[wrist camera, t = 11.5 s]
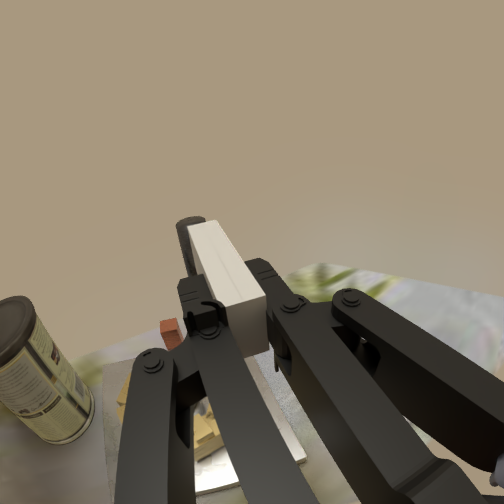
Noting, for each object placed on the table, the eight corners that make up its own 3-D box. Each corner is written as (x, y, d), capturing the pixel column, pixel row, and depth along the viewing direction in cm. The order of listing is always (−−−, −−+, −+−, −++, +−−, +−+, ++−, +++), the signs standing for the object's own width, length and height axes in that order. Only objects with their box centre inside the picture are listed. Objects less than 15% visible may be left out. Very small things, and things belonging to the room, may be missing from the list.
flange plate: (119, 506, 16) (88, 491, 13) (108, 361, 33) (90, 331, 30) (306, 461, 21) (309, 440, 18) (236, 327, 37) (230, 294, 34)
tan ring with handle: (230, 469, 19) (186, 393, 13) (113, 444, 21) (34, 357, 14) (258, 308, 37) (246, 213, 31) (174, 307, 39) (149, 219, 33)
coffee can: (23, 406, 25) (-40, 328, 18) (73, 368, 32) (22, 284, 25) (51, 460, 19) (-36, 382, 12) (110, 413, 26) (43, 322, 19)
